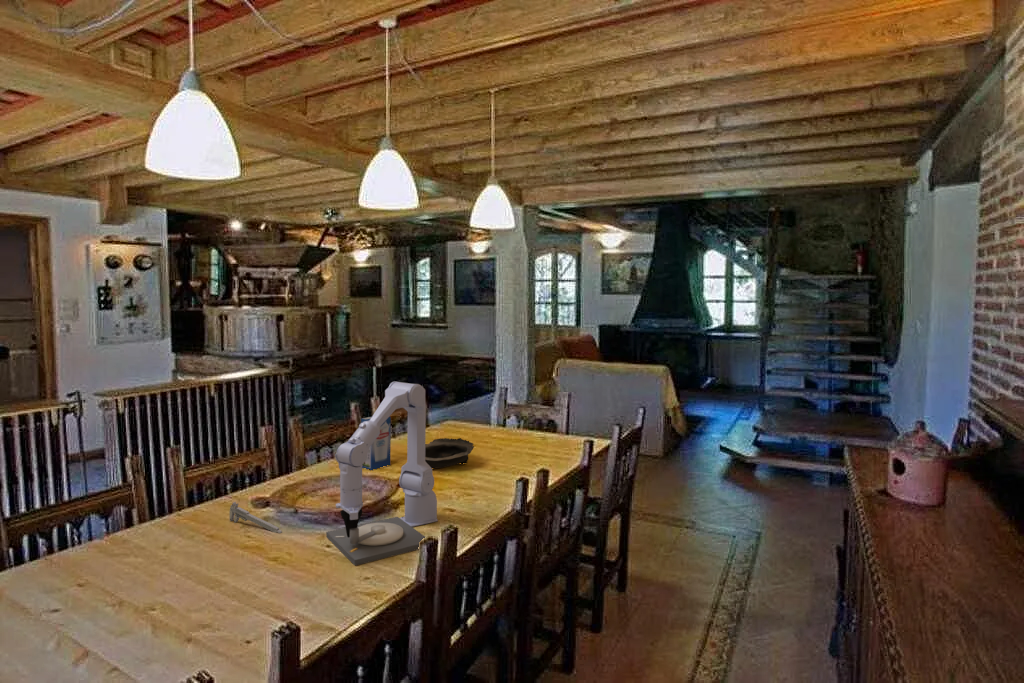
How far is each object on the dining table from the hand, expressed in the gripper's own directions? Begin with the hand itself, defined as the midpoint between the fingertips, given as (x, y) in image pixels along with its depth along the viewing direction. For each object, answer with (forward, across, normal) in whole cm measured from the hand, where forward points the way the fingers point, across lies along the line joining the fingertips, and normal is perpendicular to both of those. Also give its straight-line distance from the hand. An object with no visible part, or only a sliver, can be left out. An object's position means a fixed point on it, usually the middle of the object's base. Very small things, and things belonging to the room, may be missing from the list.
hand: (351, 536), depth 163 cm
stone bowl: (+4, -73, +44) cm, 85 cm away
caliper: (+4, -26, -25) cm, 36 cm away
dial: (+2, -3, +6) cm, 7 cm away
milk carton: (+4, -79, +17) cm, 81 cm away
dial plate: (+4, -4, +8) cm, 9 cm away
